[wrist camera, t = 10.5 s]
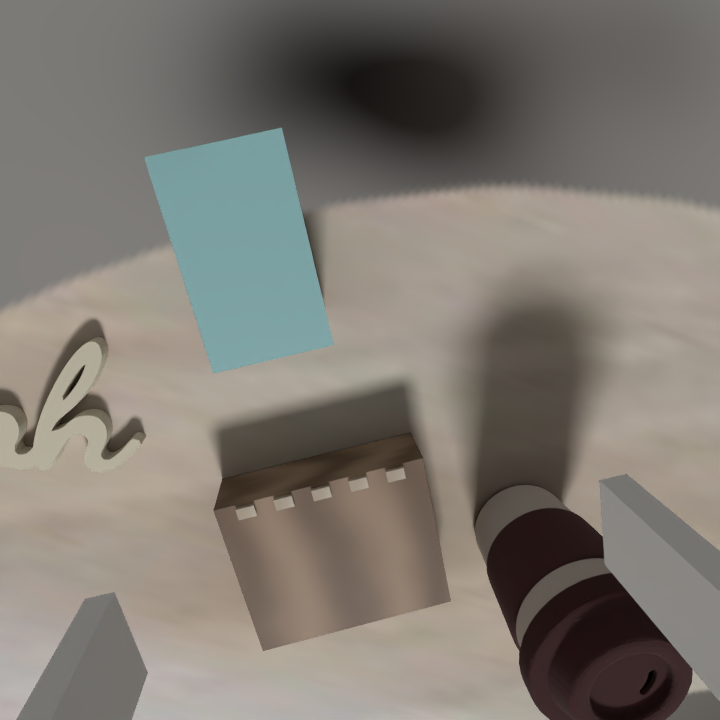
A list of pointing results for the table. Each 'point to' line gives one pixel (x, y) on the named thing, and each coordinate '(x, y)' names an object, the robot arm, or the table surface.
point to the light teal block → (242, 248)
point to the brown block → (333, 540)
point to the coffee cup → (574, 615)
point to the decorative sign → (9, 423)
